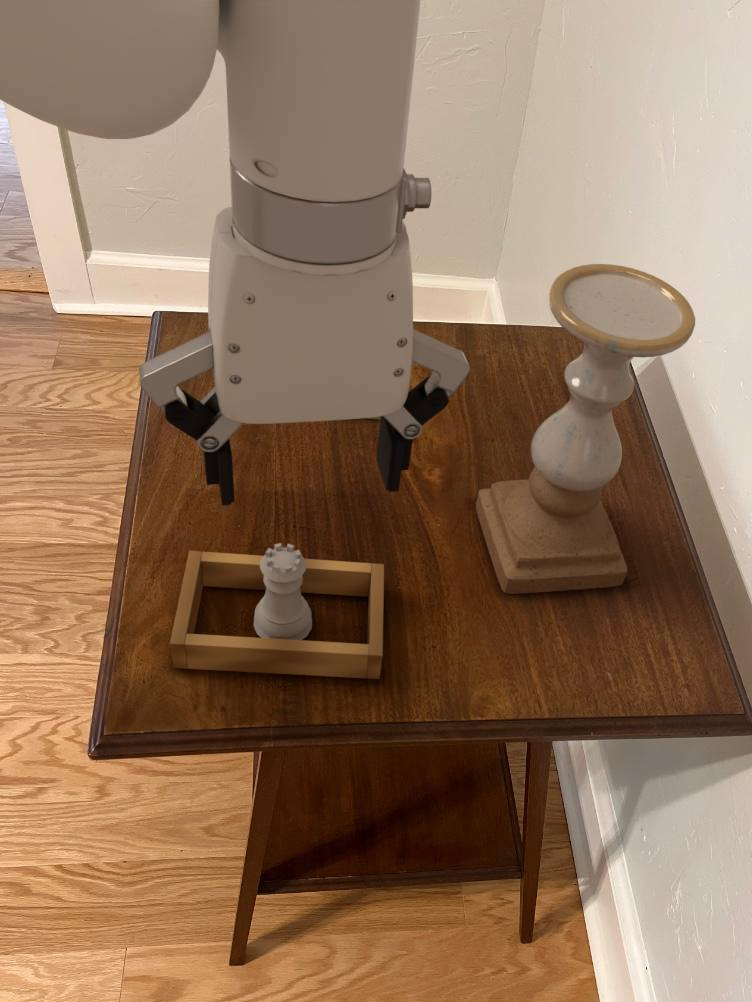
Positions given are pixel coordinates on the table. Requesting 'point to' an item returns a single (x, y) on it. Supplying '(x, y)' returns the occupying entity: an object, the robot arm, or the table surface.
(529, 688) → the table surface
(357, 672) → the rectangular wooden frame
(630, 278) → the candle holder
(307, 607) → the rook chess piece
